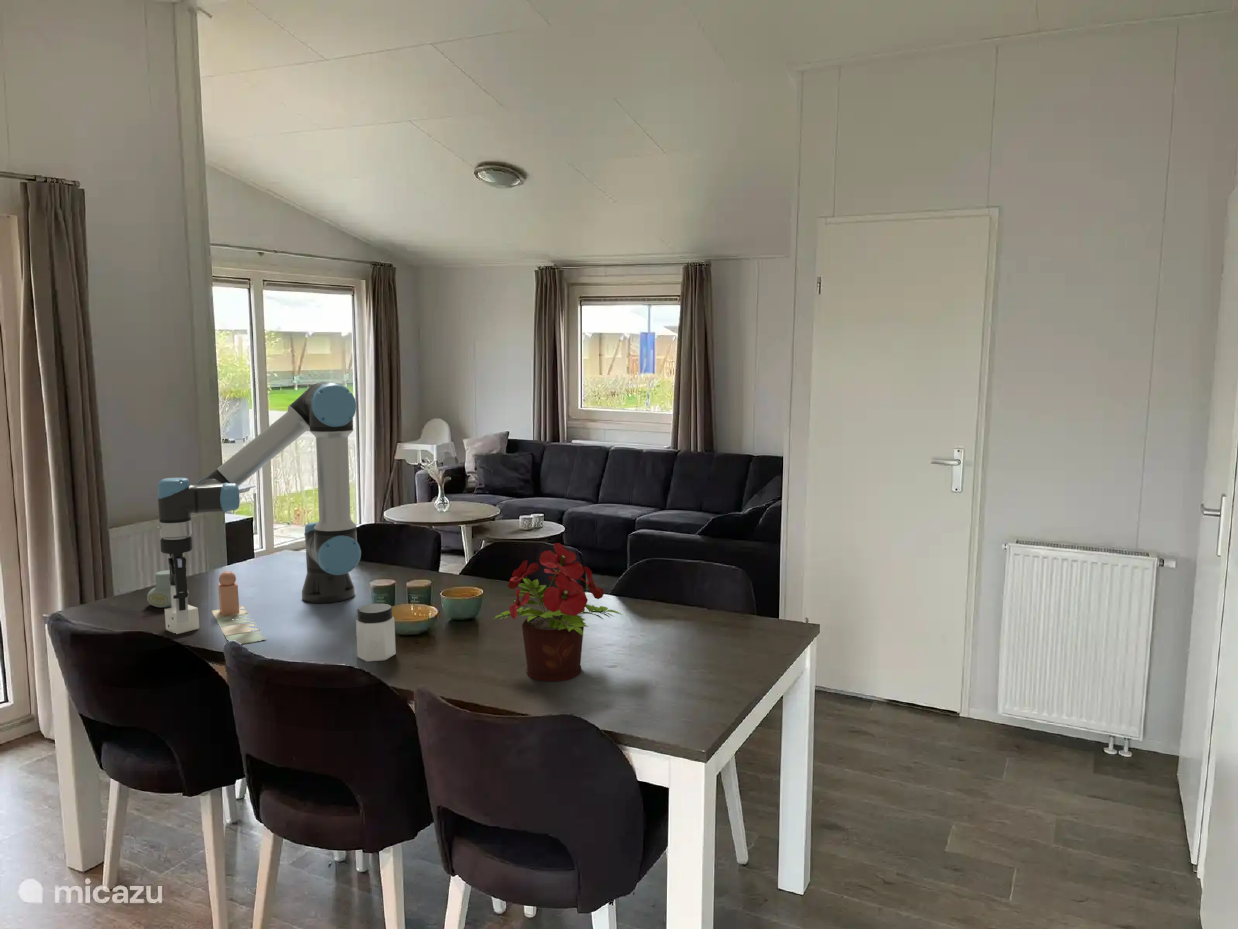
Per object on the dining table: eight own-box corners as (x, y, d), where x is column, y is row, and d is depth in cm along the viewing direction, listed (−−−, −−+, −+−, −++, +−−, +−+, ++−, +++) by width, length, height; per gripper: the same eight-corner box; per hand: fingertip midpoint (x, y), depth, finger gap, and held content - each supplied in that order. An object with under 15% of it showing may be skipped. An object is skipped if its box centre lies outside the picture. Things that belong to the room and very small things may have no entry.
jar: (356, 663, 212) (354, 614, 210) (358, 652, 220) (356, 604, 218) (395, 660, 214) (393, 611, 212) (396, 649, 222) (394, 602, 220)
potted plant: (518, 699, 189) (515, 561, 185) (484, 659, 214) (481, 536, 210) (644, 678, 201) (643, 548, 197) (598, 642, 225) (597, 526, 221)
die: (188, 625, 242) (187, 603, 241) (199, 629, 238) (197, 607, 237) (165, 631, 237) (163, 608, 236) (176, 635, 233) (174, 612, 232)
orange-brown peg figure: (236, 608, 256) (234, 568, 254) (239, 612, 252) (236, 572, 250) (219, 611, 253) (217, 570, 252) (222, 615, 250) (219, 574, 248)
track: (243, 607, 259) (243, 606, 259) (266, 640, 229) (266, 639, 229) (211, 611, 254) (211, 610, 254) (230, 646, 224) (230, 645, 224)
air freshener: (194, 602, 264) (192, 569, 263) (176, 610, 256) (173, 576, 255) (161, 600, 266) (159, 568, 264) (142, 608, 258) (139, 575, 256)
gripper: (156, 530, 243) (160, 605, 245) (164, 547, 222) (168, 629, 224) (186, 527, 247) (190, 602, 249) (197, 544, 226) (201, 625, 228)
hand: (179, 615), depth 237 cm, fingers open, 13 cm apart
